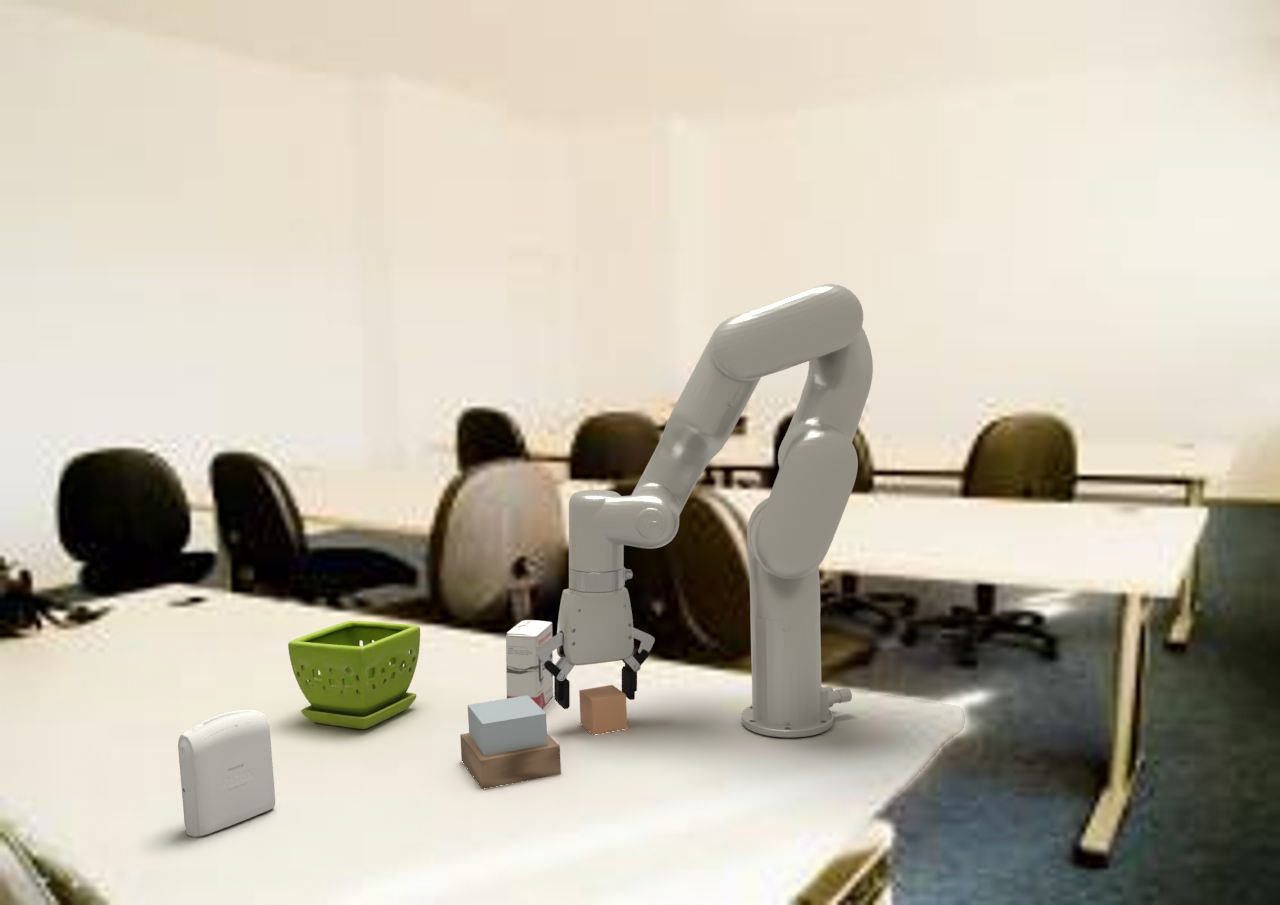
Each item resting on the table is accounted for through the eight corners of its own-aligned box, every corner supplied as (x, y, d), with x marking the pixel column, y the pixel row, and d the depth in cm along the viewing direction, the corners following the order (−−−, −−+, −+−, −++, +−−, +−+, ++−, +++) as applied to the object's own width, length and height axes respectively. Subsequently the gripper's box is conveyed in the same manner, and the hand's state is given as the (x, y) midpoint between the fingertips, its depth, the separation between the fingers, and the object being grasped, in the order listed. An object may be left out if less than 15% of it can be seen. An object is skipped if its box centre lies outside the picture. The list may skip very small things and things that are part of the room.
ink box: (539, 715, 154) (536, 634, 153) (506, 713, 155) (502, 633, 154) (556, 696, 162) (552, 619, 161) (524, 694, 163) (521, 618, 162)
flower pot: (428, 707, 159) (423, 624, 158) (367, 739, 146) (362, 649, 145) (353, 697, 165) (348, 617, 164) (289, 727, 152) (283, 640, 151)
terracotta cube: (613, 719, 152) (612, 684, 151) (627, 729, 147) (625, 694, 146) (580, 724, 150) (579, 690, 149) (593, 736, 145) (592, 700, 144)
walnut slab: (535, 750, 141) (534, 721, 141) (561, 777, 132) (559, 745, 132) (461, 764, 137) (460, 734, 137) (482, 792, 128) (481, 760, 128)
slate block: (529, 724, 139) (527, 695, 139) (547, 744, 132) (546, 713, 132) (469, 735, 136) (467, 704, 136) (484, 756, 129) (482, 724, 129)
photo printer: (197, 841, 116) (189, 732, 115) (178, 831, 119) (170, 724, 118) (281, 809, 124) (275, 706, 123) (262, 800, 127) (255, 699, 126)
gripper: (642, 570, 153) (642, 686, 155) (527, 580, 146) (528, 701, 148) (664, 580, 146) (663, 701, 148) (545, 591, 139) (545, 718, 141)
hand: (596, 701), depth 148 cm, fingers open, 9 cm apart
